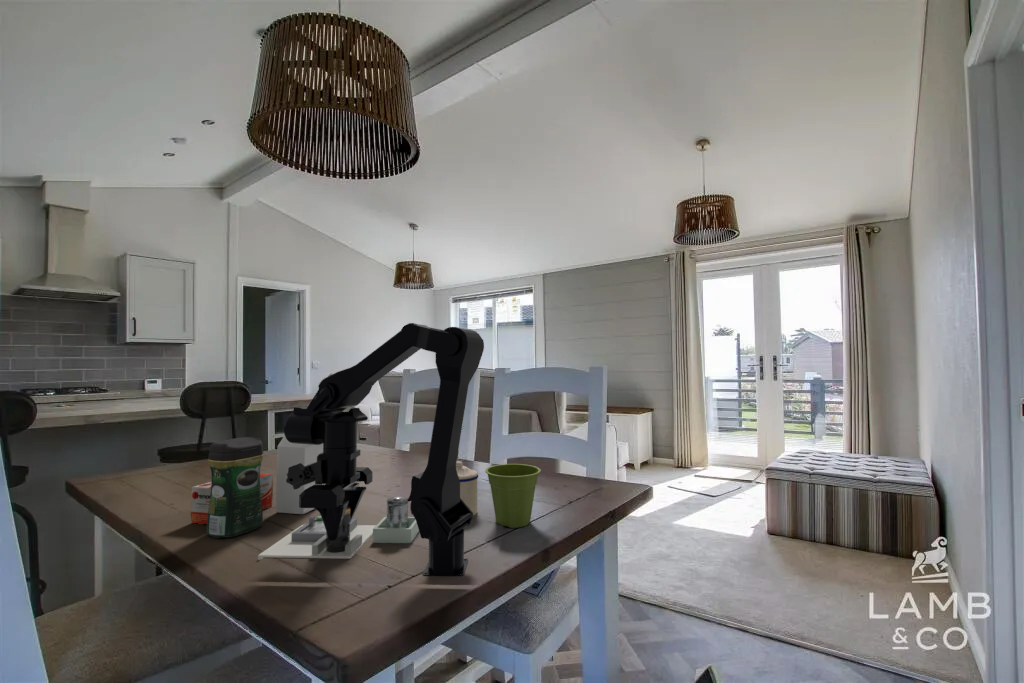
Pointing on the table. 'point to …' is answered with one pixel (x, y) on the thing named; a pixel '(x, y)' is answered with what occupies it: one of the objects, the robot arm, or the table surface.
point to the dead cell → (397, 512)
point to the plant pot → (513, 492)
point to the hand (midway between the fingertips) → (338, 534)
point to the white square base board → (317, 543)
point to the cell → (340, 535)
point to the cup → (395, 532)
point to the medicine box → (203, 491)
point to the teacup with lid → (468, 486)
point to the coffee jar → (235, 487)
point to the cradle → (315, 525)
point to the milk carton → (286, 458)
